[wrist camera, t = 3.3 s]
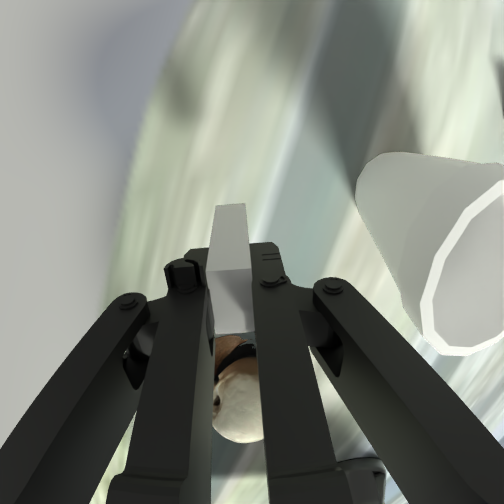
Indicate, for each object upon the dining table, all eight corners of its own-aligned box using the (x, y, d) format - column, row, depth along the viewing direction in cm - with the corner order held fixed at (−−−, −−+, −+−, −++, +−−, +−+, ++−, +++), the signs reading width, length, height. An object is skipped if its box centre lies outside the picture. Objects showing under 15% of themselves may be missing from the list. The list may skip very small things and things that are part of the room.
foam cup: (339, 256, 25) (407, 377, 14) (327, 139, 21) (426, 190, 10) (439, 235, 25) (534, 324, 13) (439, 128, 21) (568, 172, 9)
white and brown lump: (261, 432, 34) (206, 474, 25) (208, 366, 38) (145, 391, 29) (334, 379, 30) (291, 425, 21) (270, 303, 34) (207, 320, 25)
